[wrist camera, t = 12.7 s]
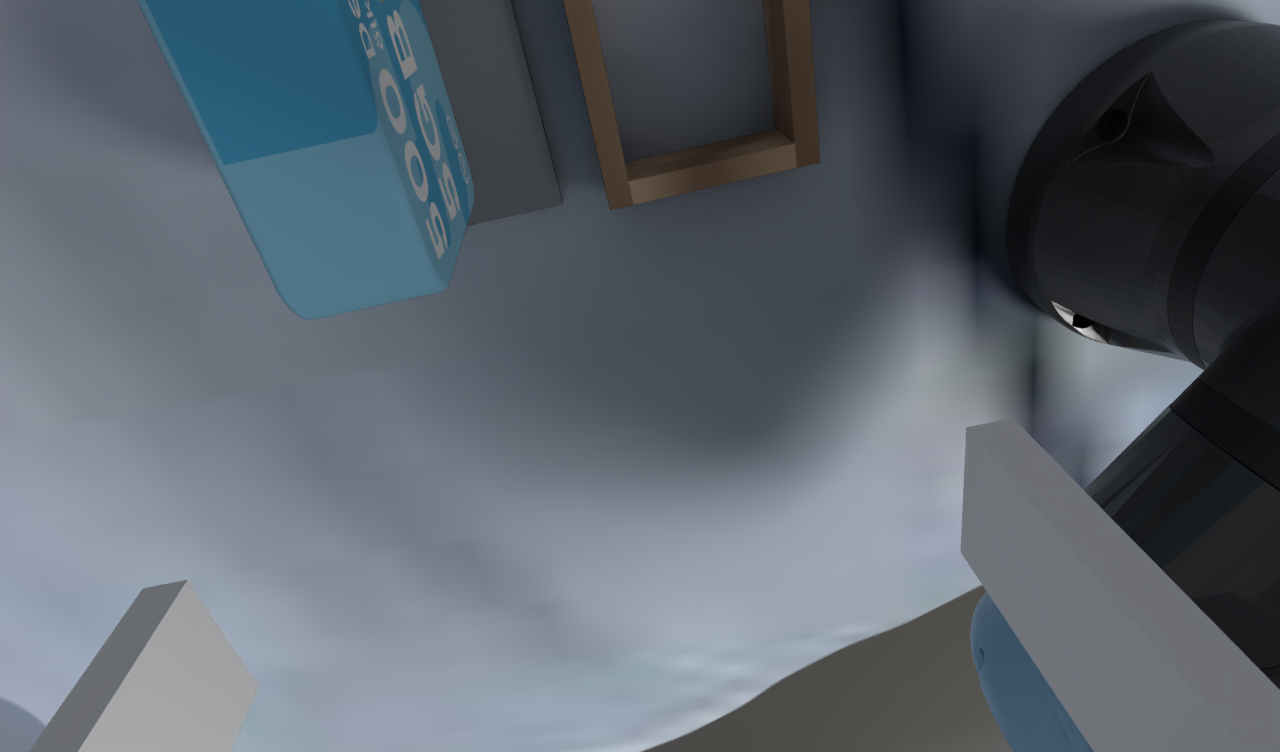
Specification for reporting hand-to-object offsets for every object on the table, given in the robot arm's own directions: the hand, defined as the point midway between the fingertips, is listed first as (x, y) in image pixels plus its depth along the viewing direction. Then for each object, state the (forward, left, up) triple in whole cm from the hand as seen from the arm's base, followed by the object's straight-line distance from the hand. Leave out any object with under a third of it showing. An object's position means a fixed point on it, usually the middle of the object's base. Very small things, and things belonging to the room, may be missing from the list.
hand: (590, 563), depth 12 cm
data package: (+6, -7, -23) cm, 25 cm away
